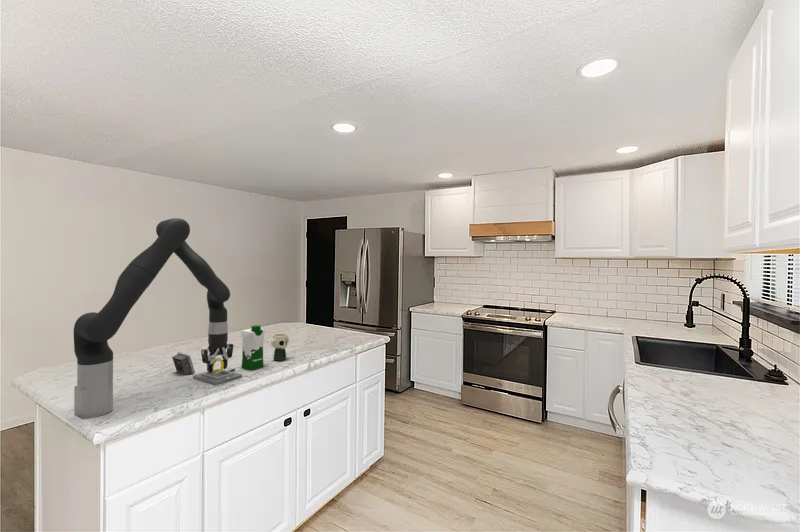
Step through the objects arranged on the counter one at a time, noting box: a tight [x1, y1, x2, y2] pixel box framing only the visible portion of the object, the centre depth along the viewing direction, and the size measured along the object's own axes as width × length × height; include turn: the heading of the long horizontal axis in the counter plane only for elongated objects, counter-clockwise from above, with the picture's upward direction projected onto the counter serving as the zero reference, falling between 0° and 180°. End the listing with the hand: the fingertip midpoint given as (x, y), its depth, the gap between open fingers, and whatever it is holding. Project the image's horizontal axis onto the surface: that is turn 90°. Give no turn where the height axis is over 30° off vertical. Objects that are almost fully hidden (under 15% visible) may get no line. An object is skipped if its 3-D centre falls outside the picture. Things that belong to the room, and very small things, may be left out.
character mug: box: [270, 332, 290, 361], centre depth 189 cm, size 11×7×13 cm, turn 149°
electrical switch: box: [171, 351, 196, 376], centre depth 164 cm, size 9×5×9 cm, turn 57°
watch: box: [212, 357, 224, 374], centre depth 159 cm, size 6×3×6 cm, turn 160°
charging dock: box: [192, 368, 243, 386], centre depth 162 cm, size 17×16×2 cm
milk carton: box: [240, 324, 266, 371], centre depth 175 cm, size 9×9×20 cm
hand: (217, 370), depth 159 cm, fingers closed on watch, 6 cm apart
